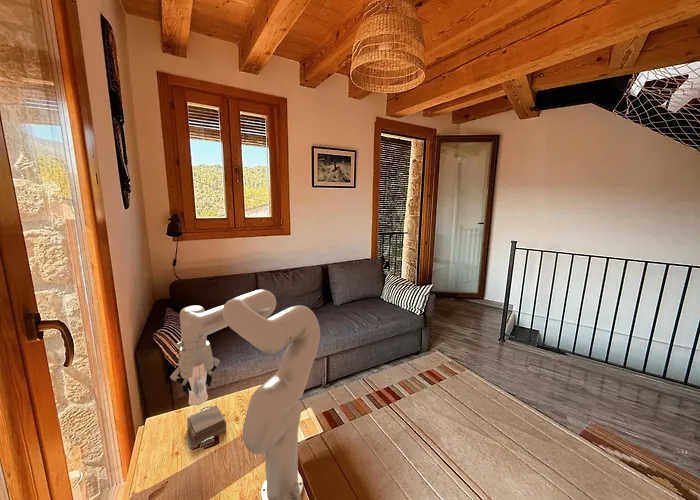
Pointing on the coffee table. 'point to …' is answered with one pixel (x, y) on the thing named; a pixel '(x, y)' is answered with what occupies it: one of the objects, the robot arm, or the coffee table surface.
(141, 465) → the coffee table surface
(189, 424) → the plinth
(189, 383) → the beer glass
